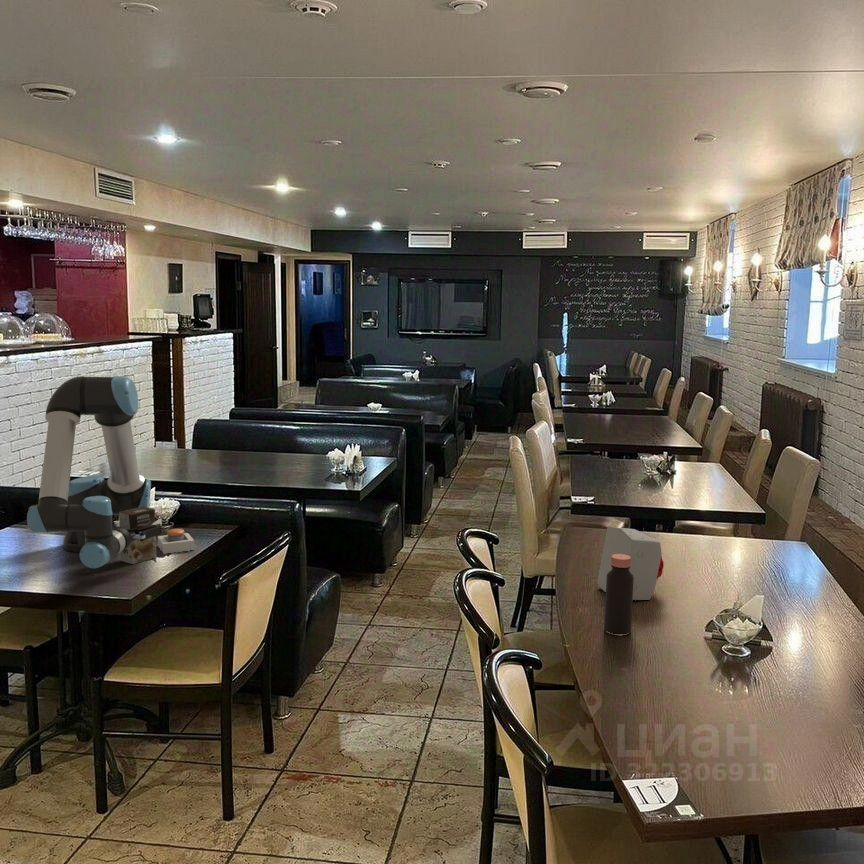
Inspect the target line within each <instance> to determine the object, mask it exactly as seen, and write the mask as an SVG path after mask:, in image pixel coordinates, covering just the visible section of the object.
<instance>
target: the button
mask: <svg viewBox="0 0 864 864" xmlns="http://www.w3.org/2000/svg"><path fill="white" fill-rule="evenodd" d="M184 533H185V529H183V528H171V529H168V530H166V535H168V542H174V541H183V540H184Z"/></svg>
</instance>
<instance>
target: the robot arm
mask: <svg viewBox="0 0 864 864" xmlns="http://www.w3.org/2000/svg"><path fill="white" fill-rule="evenodd" d="M138 397H139V395H138V391H137V387H136V384H135V382H134V381H133V380H132V379H131V378H130V377H128V376H120V375H119V376H118V375H114V376H83V375H82V376H75V377H72V378H69V379H67V380H66V381H65V382H63V383H62V384H61V385H60V386H58V387H57V389H56V390H55V391H54V393H53V394H52V396H51V397H50V399H49V400H48V403H47V406H46V410H45V417H44V418H45V421H46V422H47V432H46V437H45V438H46V439H45V447H44V456H43V463H42V469H41V479H40V486H39V493H38V495H39V496H38V502H37V503H38V504H34V505H31V506H29V507H28V511H27V515H26V522H27V527H28V529H29V530H30V531H31V532H33V533H54V532H55V533H58V532H65V534H64V538H63V540H62V541H63V542H62V544H63V545H62V546H63V549H64V550H65V551H68V552H74V553H79V559H80V562H81V563H82V564H83V566H86V567H87V568H89V569H97V568H101V567H102V566H105V565H106V564H108V562H109V561H111V560H112V559H113V558H115V557H117V556H118V555H119V554H121V552H122V551H124V550H125V549H126V548H127V547H128V546H129V545H130V543H131V541H133V540H137V539H140V541H145V540H146V539H148V538H151V537H154V536H156V537H158V536H161V535H162V534H163V525H162V524H163V523H162V519H161V518H158V519H157V520H155V522H154V523H153V524H152V526H148V527H144V528H139V529H137V528H133V529H125V528H123V527H120V521H119V520H117V521H115V522H114V521H113V516H119V512H121V511H126V510H130V509H135V508H140V507H145V508H150V507H149V506H150V501H151V500H150V499H151V487H152V481H151V480H150V479H146V478H145V475H144V473H142V472H141V471H140V470H139V467H138V460H137V453H136V447H135V442H134V435H133V430H132V429H133V428H132V424H131V422H132V420H133V418H134V417H135V415H136V414H137V413H138V411H139V398H138ZM82 416H94V420H95V422H96V423H97V424H99V426H101V431H102V435H103V436H102V437H103V440H104V446H105V451H106V457H107V461H108V462H107V463H108V466H109V472H110V476H109V477H108V479H107V480H105V477H104V476H103V475H101V474H100V475H99V474H98V475H97V474H95V475H85V476H82V477H77V478H74V479H72V480H71V473H72V472H71V471H72V464H73V456H74V445H75V439H76V438H75V436H76V430H77V425H79V424H80V422H81V417H82ZM133 531H134V532H133Z"/></svg>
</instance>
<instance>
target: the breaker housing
mask: <svg viewBox="0 0 864 864" xmlns="http://www.w3.org/2000/svg"><path fill="white" fill-rule="evenodd" d="M157 546H159V547H158V548H160V549H159V550H160V552H161V551H162V552H163V553H162V552H161V553H162V555H167V554H166V553H171V554H175V553H174V552H180V553H183V552H182V551H188V552H191V551H190V550H195V539H194V538H193V536H191V534H189V533H188V532H184V540H183V541H174V542H168V535H167V534H166V535H157Z"/></svg>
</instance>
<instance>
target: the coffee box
mask: <svg viewBox="0 0 864 864" xmlns="http://www.w3.org/2000/svg"><path fill="white" fill-rule="evenodd" d="M118 518H119V520H118V521H120V527H123V528H125V529H133V528H137V529H139V528H144V527H148V526H152V524H153V523H154V522H156V509H154V508H150V507H148V508H145V507H140V508H135V509H130V510H126V511H121V512H119V515H118ZM133 532H134V531H133ZM156 537H157V536H154V537H151V538H148V539H146V540H145V541H140V539H137V540H133V541H131V543H130V545H129V546H128V547H127V548H126V549H125V550H124V551H122V552H120V561H121V562H125V563H127V564H131V565H135V564H138V563H142V562H146V561H149V560H153V559H156V558H157V539H156ZM152 558H153V559H152ZM145 560H146V561H145Z"/></svg>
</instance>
